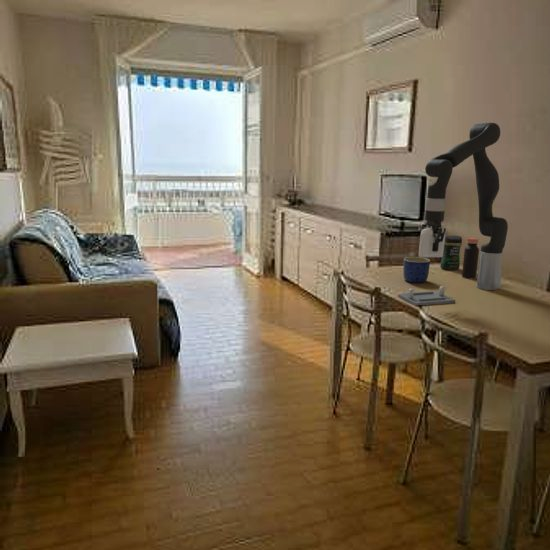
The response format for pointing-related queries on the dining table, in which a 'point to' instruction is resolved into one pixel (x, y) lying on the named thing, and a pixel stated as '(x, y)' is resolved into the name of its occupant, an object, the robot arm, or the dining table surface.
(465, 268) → the bottle
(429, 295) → the docking tray
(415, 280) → the planter
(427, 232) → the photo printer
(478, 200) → the robot arm
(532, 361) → the dining table surface
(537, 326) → the dining table surface
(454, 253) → the coffee jar
